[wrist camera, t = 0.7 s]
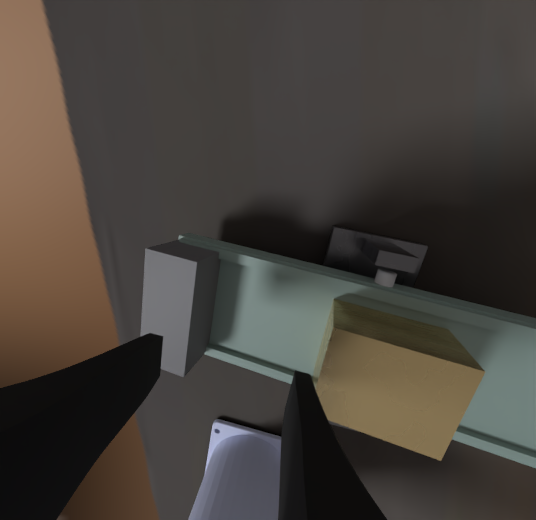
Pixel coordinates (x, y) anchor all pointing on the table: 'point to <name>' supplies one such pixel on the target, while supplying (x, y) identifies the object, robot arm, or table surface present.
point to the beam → (314, 323)
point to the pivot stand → (373, 257)
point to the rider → (394, 378)
